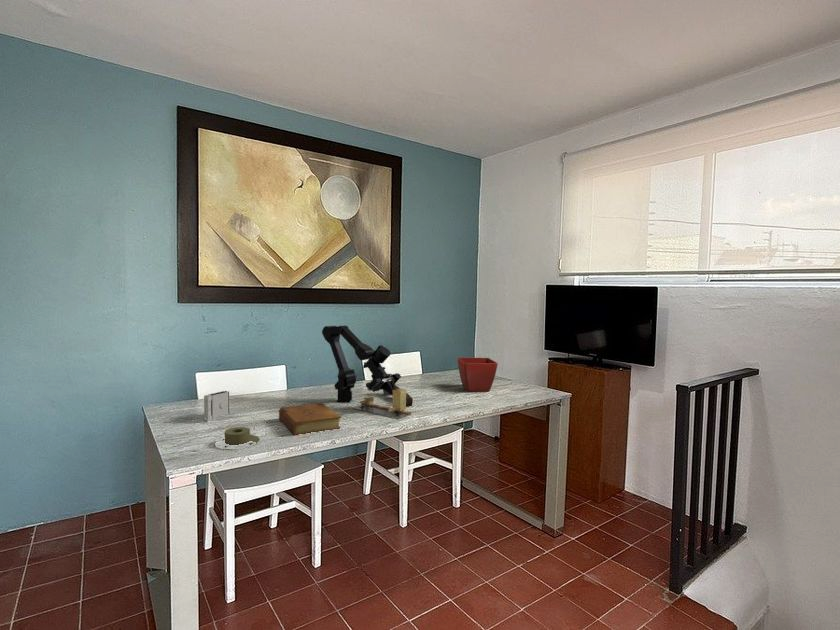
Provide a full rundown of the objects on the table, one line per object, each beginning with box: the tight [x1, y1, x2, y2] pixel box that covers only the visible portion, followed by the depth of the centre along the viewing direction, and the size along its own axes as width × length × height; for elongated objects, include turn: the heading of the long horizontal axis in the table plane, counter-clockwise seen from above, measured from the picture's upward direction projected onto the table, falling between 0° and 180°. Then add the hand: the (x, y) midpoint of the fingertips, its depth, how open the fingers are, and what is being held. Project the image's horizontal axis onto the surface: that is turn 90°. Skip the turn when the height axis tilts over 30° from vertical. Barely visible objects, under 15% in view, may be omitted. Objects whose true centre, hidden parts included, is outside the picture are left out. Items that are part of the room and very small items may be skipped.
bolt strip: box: [352, 404, 409, 420], centre depth 203 cm, size 27×7×1 cm, turn 56°
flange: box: [224, 426, 261, 445], centre depth 159 cm, size 5×15×15 cm
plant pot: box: [457, 357, 499, 392], centre depth 254 cm, size 19×19×17 cm
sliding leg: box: [389, 387, 407, 413], centre depth 200 cm, size 4×9×10 cm, turn 146°
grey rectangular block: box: [203, 390, 230, 421], centre depth 188 cm, size 14×5×10 cm, turn 164°
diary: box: [278, 402, 342, 436], centre depth 182 cm, size 23×19×6 cm
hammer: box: [382, 373, 413, 408], centre depth 226 cm, size 5×11×30 cm
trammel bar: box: [359, 395, 412, 416], centre depth 205 cm, size 27×8×4 cm, turn 56°
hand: (394, 396), depth 204 cm, fingers closed, pressing on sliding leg
